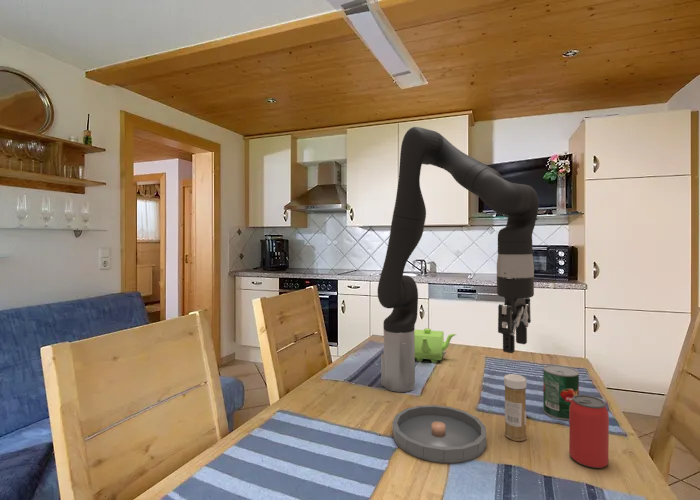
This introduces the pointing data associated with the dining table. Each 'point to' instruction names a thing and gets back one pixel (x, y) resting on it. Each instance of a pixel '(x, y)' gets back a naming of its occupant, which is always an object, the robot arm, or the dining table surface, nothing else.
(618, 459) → the dining table surface
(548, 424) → the dining table surface
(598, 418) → the beer can
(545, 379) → the canned tomato
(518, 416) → the sprinkles bottle
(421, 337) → the kettle
